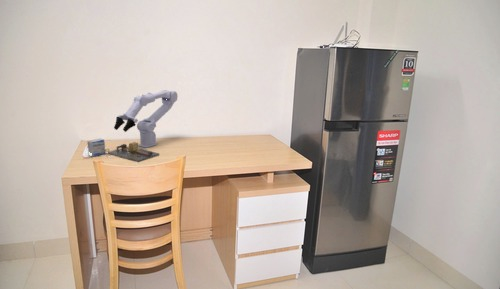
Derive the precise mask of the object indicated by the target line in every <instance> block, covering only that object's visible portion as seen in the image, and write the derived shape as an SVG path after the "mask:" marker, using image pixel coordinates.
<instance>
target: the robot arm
mask: <svg viewBox="0 0 500 289" xmlns="http://www.w3.org/2000/svg"><path fill="white" fill-rule="evenodd" d="M158 99H161V103H162V105H161V106H159V107H158V108H157V109H156V110H155V111H154V112H153V113H152V114H151V115H150V116H149V117H147V118H144V119H142V120H138V119H137V118H136V117H137V115H138V114H139V112H140V111H141V110H142V108H143V107H147V105H148V104H150V103H155V101H156V100H158ZM166 99H167V100H166ZM176 101H178V93H177V91H174V90H173V91H172V90H166V89H164V90H160V91H158V92H156V93H153V92H147V93H145V94H142V95H137V96H135V97H134V98H133V101H132V104H131V105H130V107H129V108H128V109H127V110H126V112H125V113H123V114H119V115H118V116H116V120H115V124H114V127H113V129H114V130H115V131H118V129H120V128H121V126H122V125H123V124H125V125H124V127H123V128H122V130H123V132H124V133H126V132H128V131H129V130H130V129H131V128H134V127H135V126H136V129H137V130H138V132H139V139H140V143H138V147H142V148H150V147H153V146H157V145H158V143H157V139H156V138H157V136H156V132H155V131H154V130H155V128H156V127H157V123H158V121H159V120H161V118H163V116H165V115H166V114H167V113H168V112H169V111H170V110H171V109H172V107H173V105H174V104H175V102H176ZM125 121H126V123H125Z"/></svg>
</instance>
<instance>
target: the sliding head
mask: <svg viewBox="0 0 500 289" xmlns="http://www.w3.org/2000/svg"><path fill="white" fill-rule="evenodd" d="M138 145H139V142H136V141H133V142H129V144H128V146H129V147H128V146H127V153H129V152H128V150H130V151H135V150H138V148H139V146H138Z"/></svg>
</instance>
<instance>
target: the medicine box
mask: <svg viewBox="0 0 500 289" xmlns="http://www.w3.org/2000/svg"><path fill="white" fill-rule="evenodd" d="M86 142H87V150H88V151H87V152H88V153H89V152H90V153H92V156H91V157H93V158H95V157H99V156H102V155H105V154H106V145H105V143H106V142H105V139H103V138H96V139H93V140H87V141H86Z"/></svg>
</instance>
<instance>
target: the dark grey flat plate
mask: <svg viewBox="0 0 500 289" xmlns="http://www.w3.org/2000/svg"><path fill="white" fill-rule="evenodd" d="M127 147H129V145H128V146H127ZM118 150H119V151H117V149H114V150H111V151H107V155H110V156H114V157H119V158H122V159H125V160H129V161H133V162H136V163H140V162H144V161H147V160H149V159H152V158H155V157H158V156H160V153H158V152H154V151H152V156H146V155H142V154H138V153H134V152H130V151H128V152H129V153H127V151H126V150H122V149H121V148H118ZM137 151H141V152H145V153H148V152H151V150H147V149H144V148H143V149H142V148H140V147H138V150H137Z"/></svg>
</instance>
